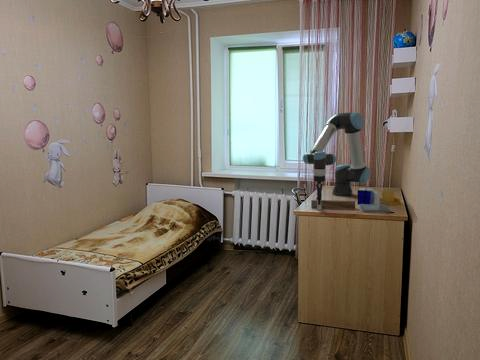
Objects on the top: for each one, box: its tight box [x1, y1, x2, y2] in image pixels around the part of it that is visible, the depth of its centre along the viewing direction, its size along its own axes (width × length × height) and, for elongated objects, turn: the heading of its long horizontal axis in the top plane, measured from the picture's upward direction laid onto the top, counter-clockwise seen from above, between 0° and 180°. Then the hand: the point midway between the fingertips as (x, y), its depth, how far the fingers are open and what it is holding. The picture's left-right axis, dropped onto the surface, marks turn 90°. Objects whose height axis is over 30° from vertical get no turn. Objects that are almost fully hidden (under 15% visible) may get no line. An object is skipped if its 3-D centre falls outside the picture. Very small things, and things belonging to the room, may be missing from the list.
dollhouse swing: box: [380, 189, 402, 206], centre depth 276 cm, size 10×10×9 cm
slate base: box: [359, 203, 391, 214], centre depth 259 cm, size 18×16×2 cm
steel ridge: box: [370, 188, 381, 210], centre depth 258 cm, size 18×3×10 cm, turn 170°
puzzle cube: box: [356, 187, 372, 205], centre depth 277 cm, size 10×10×10 cm
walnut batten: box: [310, 199, 356, 210], centre depth 265 cm, size 4×28×5 cm, turn 79°
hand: (318, 207), depth 267 cm, fingers open, 13 cm apart
